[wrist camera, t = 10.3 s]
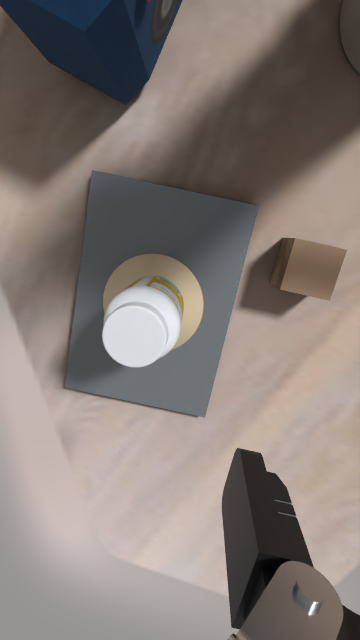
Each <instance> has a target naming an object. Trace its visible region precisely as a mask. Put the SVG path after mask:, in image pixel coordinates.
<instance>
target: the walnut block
mask: <svg viewBox="0 0 360 640" xmlns="http://www.w3.org/2000/svg"><path fill="white" fill-rule="evenodd" d="M346 251H347V250H345V249H341V248H336V247H332V246H327V245H323V244H319V243H314V242H310V241H305V240H301V239H296V238H282V241H281V245H280V248H279V252H278V255H277V259H276V262H275V266H274V269H273V273H272V276H271V279H270V283H271V284H272V285H274V286H275V287H277V288H278V289H280V290H284V291H288V292H293V293H297V294H302V295H306V296H311V297H315V298H320V299H324V300H329V301H330V298H331V295H332V292H333V289H334V286H335V283H336V281H337V278H338V275H339V272H340V269H341V266H342V263H343V260H344V257H345V254H346Z"/></svg>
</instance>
